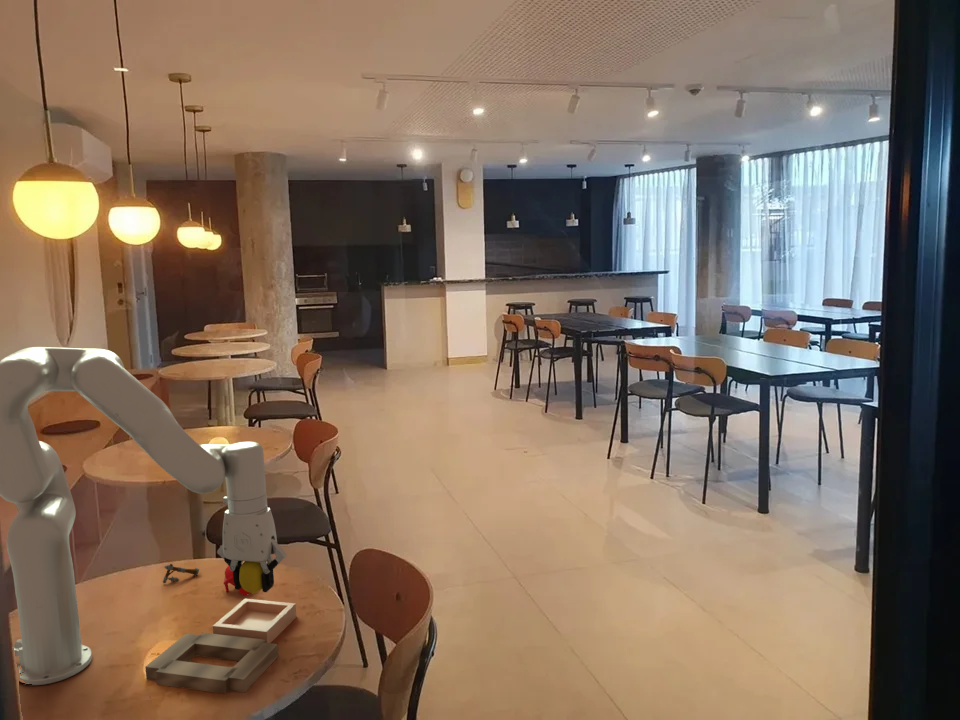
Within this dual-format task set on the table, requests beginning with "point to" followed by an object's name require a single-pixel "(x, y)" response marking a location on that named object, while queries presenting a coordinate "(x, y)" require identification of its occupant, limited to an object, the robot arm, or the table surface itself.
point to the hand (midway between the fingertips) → (254, 587)
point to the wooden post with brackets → (178, 569)
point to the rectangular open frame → (212, 678)
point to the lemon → (251, 576)
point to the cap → (232, 581)
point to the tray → (256, 619)
